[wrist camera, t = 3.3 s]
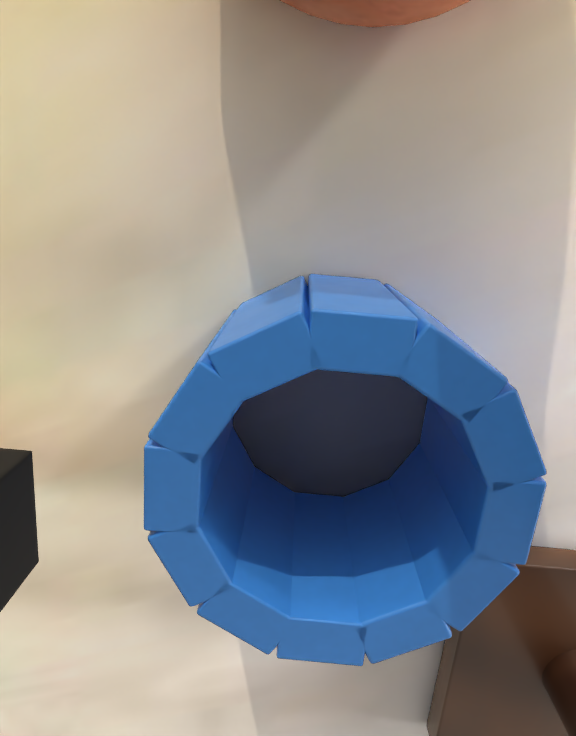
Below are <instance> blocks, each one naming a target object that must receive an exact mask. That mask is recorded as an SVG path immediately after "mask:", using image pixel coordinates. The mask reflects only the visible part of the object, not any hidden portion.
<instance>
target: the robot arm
mask: <svg viewBox="0 0 576 736" xmlns="http://www.w3.org/2000/svg"><path fill="white" fill-rule="evenodd" d="M38 561H39V560H38V544H37V527H36V511H35V494H34V478H33V462H32V451H26V450H14V449H3V448H0V612H1V610H2V609H3V608H4V607H5V605H6V604H7V603H8V601H9V600H10V599H11V597H12V596H13V595H14V593H15V592H16V591H17V589H18V588H19V587H20V585H21V584H22V583H23V581H24V580H25V579H26V577H27V576H28V575H29V573H30V572H31V571H32V569H33V568H34V567H35V565H36V564H37V563H38Z"/></svg>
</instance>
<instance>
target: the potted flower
mask: <svg viewBox="0 0 576 736" xmlns="http://www.w3.org/2000/svg"><path fill="white" fill-rule="evenodd" d="M280 1H282V2H284V3H286V4H288V5H290V6H292V7H294V8H296V9H298V10H300V11H302V12H305V13H307V14H309V15H311V16H315V17H318V18H322V19H325V20H329V21H332V22H336V23H339V24H346V25H356V26H366V27H382V26H394V25H405V24H409V23H413V22H417V21H420V20H424V19H428V18H432V17H435V16H438V15H440V14H443V13H445V12H447V11H449V10H451V9H454V8H456V7H458V6H460V5H462V4H465V3H467V2H469V1H470V0H280Z"/></svg>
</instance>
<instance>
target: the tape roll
mask: <svg viewBox="0 0 576 736" xmlns="http://www.w3.org/2000/svg"><path fill="white" fill-rule="evenodd" d="M314 370H327V371H338V372H349V373H360V374H372V375H383V376H394V377H399V378H400V379H402V380H403V381H404V382H406V383H407V384H409V385H410V386H412V387H413V388H415V389H416V390H417V391H419V392H420V393H422V394H423V395H425V396H426V397H427V404H426V409H425V415H424V421H423V426H422V432H421V438H420V443H419V444H418V446H417V447H416V448H415V449H414V450H413V451H412V453H411V454H410V455H409V456H408V457H407V458H406V460H405V461H404V462H403V463H402V464H401V465H400V467H399V468H398V469H397V470H396V471H395V472H394V474H393V475H392V476H391V477H390V478H389V479H388V480H385V481H383V482H380V483H378V484H375V485H372V486H370V487H367V488H365V489H362V490H360V491H357V492H355V493H352V494H349V495H347V496H344V497H342V496H332V495H321V494H310V493H299V492H293V491H292V490H290V489H289V488H287V487H286V486H284V485H282V484H281V483H279V482H278V481H276V480H275V479H273V478H271V477H270V476H268V475H267V474H265V473H264V472H262V471H260V470H259V469H257V468H256V467H254V465H253V463H252V461H251V459H250V457H249V456H248V454H247V452H246V450H245V448H244V446H243V444H242V442H241V441H240V439H239V437H238V435H237V433H236V431H235V429H234V428H233V416H234V414H235V413H236V411H237V410H238V409H239V407H240V406H241V405H242V403H243V402H244V401H245V400H248V399H250V398H252V397H255V396H257V395H259V394H262V393H264V392H266V391H268V390H271V389H273V388H275V387H278V386H280V385H282V384H284V383H287V382H289V381H291V380H294V379H296V378H298V377H301V376H303V375H305V374H307V373H310V372H312V371H314ZM148 437H149V438H150V439H149V441H148V442H147V444H146V445H145V447H144V529H145V530H149V531H150V533H149V536H148V541H149V542H150V544H151V546H152V547H153V549H154V550H155V552H156V554H157V555H158V557H159V558H160V560H161V562H162V563H163V565H164V566H165V568H166V570H167V571H168V573H169V574H170V576H171V578H172V579H173V581H174V582H175V584H176V586H177V587H178V589H179V590H180V592H181V593H182V595H183V597H184V598H185V600H186V601H187V603H188V605H189V606H195V605H197V604H199V606H198V610H197V614H198V615H200V616H201V617H203V618H205V619H207V620H208V621H210V622H212V623H214V624H215V625H217V626H219V627H221V628H222V629H224V630H226V631H228V632H229V633H231V634H233V635H234V636H236V637H238V638H240V639H241V640H243V641H245V642H247V643H248V644H250V645H252V646H254V647H255V648H257V649H259V650H261V651H262V652H264V653H266V654H270V653H271V652H272V651H273V650H274V648H275V647H276V646H277V658H281V659H292V660H302V661H313V662H324V663H334V664H345V665H356V666H362V665H363V661H364V655H365V654H366V655H367V657H368V659H369V661H370V662H371V663H373V664H374V663H377V662H380V661H383V660H386V659H389V658H392V657H395V656H398V655H401V654H404V653H407V652H410V651H413V650H416V649H419V648H422V647H425V646H428V645H431V644H434V643H437V642H440V641H443V640H446V639H449V638H451V637H452V632H451V629H450V626H452V627H453V628H455V629H456V630H458V631H462V630H463V629H464V628H465V627H466V626H467V625H469V624H470V623H471V622H472V621H473V620H474V619H475V618H476V617H477V616H478V615H479V614H480V613H481V612H482V611H483V610H484V609H485V608H486V607H487V606H488V605H489V604H490V603H491V602H492V601H493V600H494V599H495V598H496V597H497V596H498V595H499V594H500V593H501V592H502V591H503V590H504V589H505V588H506V587H507V586H508V585H509V584H510V583H511V582H512V581H513V580H514V579H515V578H516V577H517V576H518V575H519V573H520V572H519V569H518V568H517V566H516V564H519V565H525V564H526V562H527V558H528V555H529V551H530V547H531V543H532V539H533V535H534V532H535V528H536V524H537V520H538V516H539V512H540V509H541V505H542V501H543V497H544V493H545V489H546V482H545V481H544V479H543V478H542V477H541V476H543V475H545V474H546V469H545V466H544V463H543V460H542V458H541V455H540V452H539V449H538V447H537V444H536V441H535V438H534V436H533V433H532V430H531V428H530V425H529V422H528V419H527V417H526V414H525V411H524V408H523V406H522V403H521V400H520V397H519V395H518V392H517V390H516V389H515V388H514V387H513V386H511V385H510V384H509V383H508V380H507V378H506V377H505V376H504V375H503V374H502V373H500V372H499V371H498V370H497V369H496V368H494V367H493V366H492V365H491V364H490V363H488V362H487V361H486V360H485V359H484V358H483V357H481V356H480V355H479V354H478V353H477V352H475V351H474V350H473V349H472V348H471V347H469V346H468V345H467V344H466V343H465V342H463V341H462V340H461V339H460V338H459V337H457V336H456V335H455V334H454V333H453V332H451V331H450V330H449V329H448V328H447V327H445V326H444V325H443V324H442V323H441V322H439V321H438V320H437V319H435V318H434V317H433V316H431V315H430V314H429V313H427V312H426V311H425V310H423V309H422V308H420V307H419V306H418V305H416V304H415V303H414V302H412V301H411V300H409V299H408V298H407V297H405V296H404V295H403V294H401V293H400V292H398V291H397V290H396V289H394V288H393V287H392V286H390V285H389V284H385V285H383V284H382V283H381V282H380V281H378V280H374V279H363V278H352V277H341V276H330V275H319V274H310V275H309V280H308V286H307V283H306V281H305V279H304V277H303V276H299V277H297V278H295V279H293V280H290V281H288V282H286V283H284V284H282V285H280V286H278V287H275V288H273V289H271V290H269V291H267V292H265V293H263V294H260V295H258V296H256V297H254V298H252V299H250V300H248V301H245V302H243V303H242V304H241V305H240V306H239V308H238V309H237V310H233V312H232V313H231V315H230V316H229V317H228V319H227V320H226V322H225V323H224V324H223V326H222V327H221V329H220V330H219V331H218V333H217V334H216V336H215V337H214V339H213V340H212V341H211V343H210V344H209V346H208V347H207V348H206V350H205V351H204V353H203V354H202V355H201V357H200V358H199V360H198V361H197V363H196V364H195V366H194V367H193V368H192V370H191V371H190V373H189V374H188V376H187V377H186V379H185V380H184V382H183V383H182V385H181V386H180V388H179V389H178V391H177V392H176V394H175V395H174V397H173V398H172V400H171V401H170V403H169V404H168V406H167V407H166V409H165V410H164V412H163V413H162V415H161V416H160V418H159V419H158V421H157V422H156V424H155V425H154V426H153V428H152V429H151V431H150V432H149V436H148ZM449 625H450V626H449Z"/></svg>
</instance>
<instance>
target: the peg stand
mask: <svg viewBox="0 0 576 736" xmlns="http://www.w3.org/2000/svg"><path fill="white" fill-rule="evenodd" d="M516 566H517V568H518V569H519V572H520V573H519V575H518V576H517V577H516V578H515V579H514V580H513V581H512V582H511V583H510V584H509V585H508V586H507V587H506V588H505V589H504V590H503V591H502V592H501V593H500V594H499V595H498V596H497V597H496V598H495V599H494V600H493V601H492V602H491V603H490V604H489V605H488V606H487V607H486V608H485V609H484V610H483V611H482V612H481V613H480V614H479V615H478V616H477V617H476V618H475V619H474V620H473V621H472V622H471V623H470V624H469V625H467V626H466V627H465V628H464V629H463V630H462V631H458V630H456V629H455V628H453V627H452V626H450V625H449V626H450V629H451V632H452V637H451V638H449V639H446V640H445V644H444V649H443V653H442V658H441V663H440V667H439V672H438V676H437V681H436V686H435V690H434V695H433V699H432V704H431V709H430V713H429V718H428V722H427V729H428V733H429V736H576V550H568V549H557V548H546V547H535V546H531V547H530V551H529V555H528V558H527V562H526V564H525V565H519V564H516Z"/></svg>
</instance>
